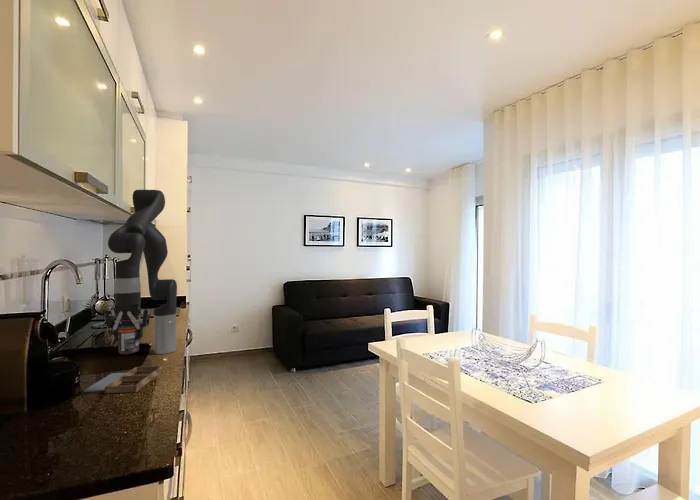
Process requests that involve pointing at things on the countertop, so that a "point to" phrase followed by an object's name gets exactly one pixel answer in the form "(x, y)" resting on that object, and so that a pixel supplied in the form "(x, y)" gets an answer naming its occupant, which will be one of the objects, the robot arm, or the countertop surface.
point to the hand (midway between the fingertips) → (128, 339)
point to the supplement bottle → (127, 338)
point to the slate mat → (104, 382)
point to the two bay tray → (133, 379)
